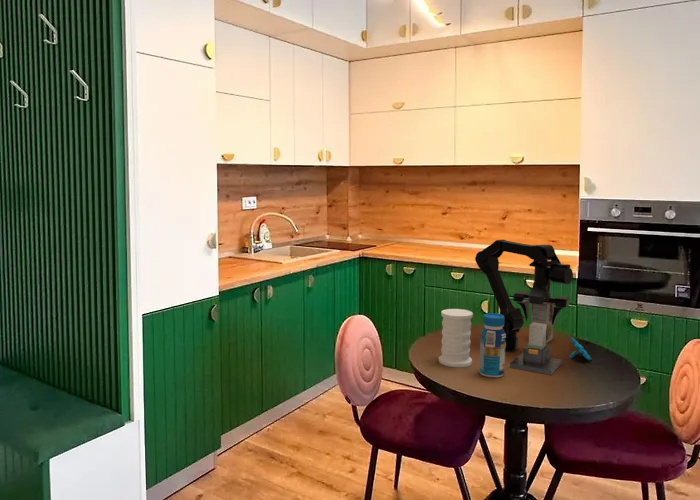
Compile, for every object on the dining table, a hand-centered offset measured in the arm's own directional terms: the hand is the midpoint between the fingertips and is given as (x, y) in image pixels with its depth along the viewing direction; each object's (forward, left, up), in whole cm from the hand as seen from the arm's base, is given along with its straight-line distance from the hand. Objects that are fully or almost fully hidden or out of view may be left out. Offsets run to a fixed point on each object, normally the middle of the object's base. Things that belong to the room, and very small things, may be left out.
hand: (539, 322), depth 224 cm
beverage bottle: (-8, -27, -13) cm, 31 cm away
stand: (+2, -10, -13) cm, 16 cm away
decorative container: (-23, -22, -13) cm, 34 cm away
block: (+2, -10, -7) cm, 12 cm away
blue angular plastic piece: (+13, +7, -13) cm, 20 cm away
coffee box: (-5, +23, -13) cm, 27 cm away
